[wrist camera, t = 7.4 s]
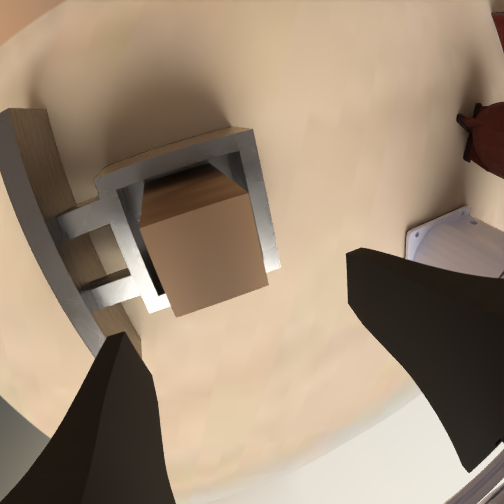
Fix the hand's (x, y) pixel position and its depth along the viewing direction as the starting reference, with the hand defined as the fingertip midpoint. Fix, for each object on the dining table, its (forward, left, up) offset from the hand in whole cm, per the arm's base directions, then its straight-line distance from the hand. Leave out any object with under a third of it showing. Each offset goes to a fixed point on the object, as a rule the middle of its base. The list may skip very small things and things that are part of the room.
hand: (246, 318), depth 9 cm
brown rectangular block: (0, -1, -9) cm, 9 cm away
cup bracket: (+2, -1, -10) cm, 10 cm away
